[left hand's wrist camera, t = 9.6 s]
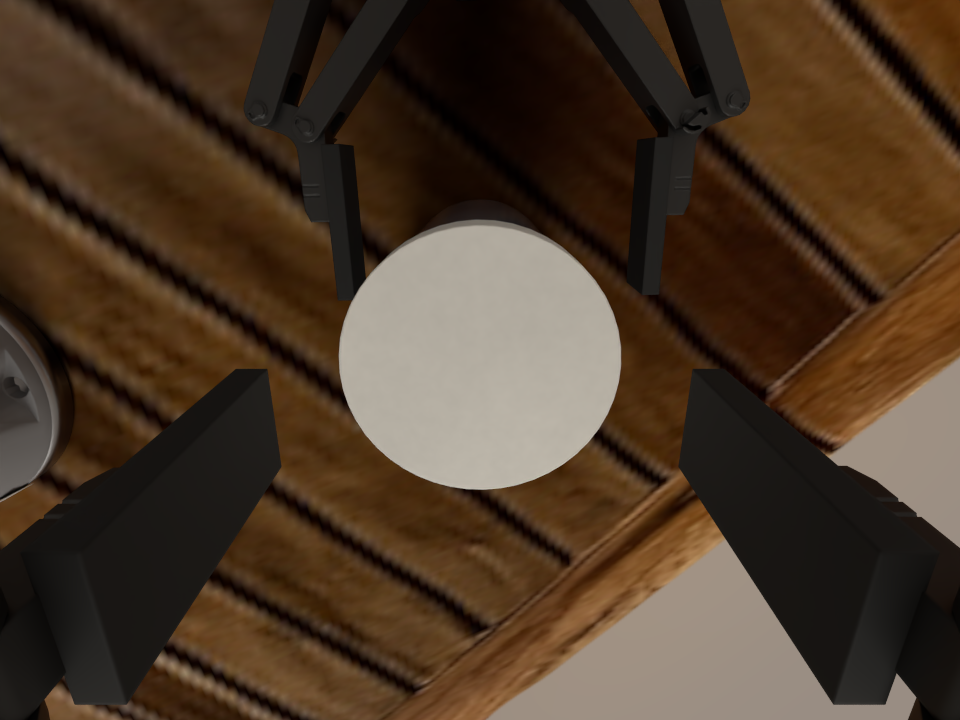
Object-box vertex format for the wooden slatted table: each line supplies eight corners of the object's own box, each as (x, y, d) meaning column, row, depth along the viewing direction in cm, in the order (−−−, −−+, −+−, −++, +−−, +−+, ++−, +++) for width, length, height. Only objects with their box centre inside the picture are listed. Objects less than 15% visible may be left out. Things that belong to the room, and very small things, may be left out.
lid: (421, 498, 20) (416, 524, 19) (301, 288, 17) (284, 300, 16) (644, 411, 19) (658, 432, 17) (553, 171, 16) (560, 171, 15)
